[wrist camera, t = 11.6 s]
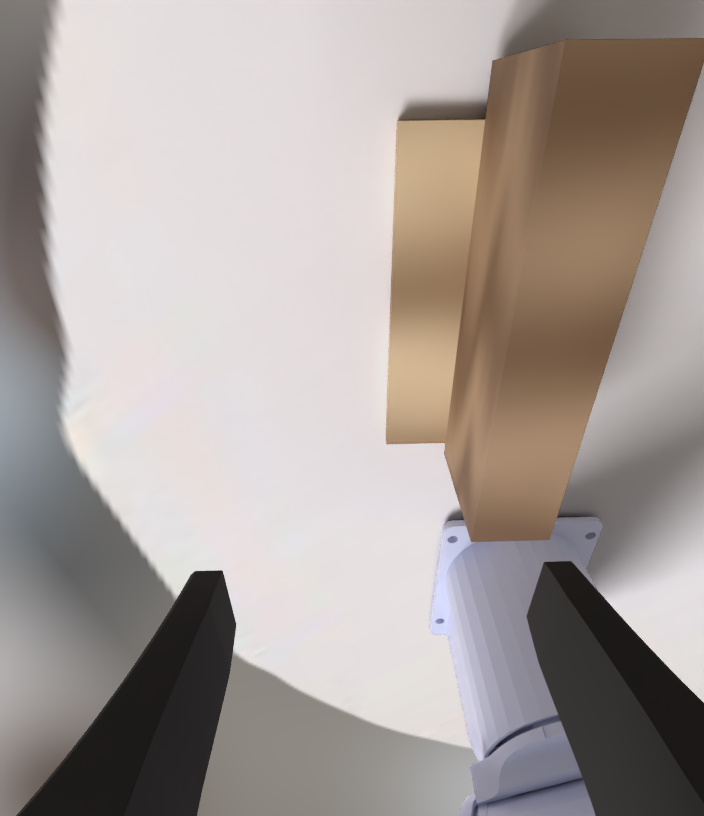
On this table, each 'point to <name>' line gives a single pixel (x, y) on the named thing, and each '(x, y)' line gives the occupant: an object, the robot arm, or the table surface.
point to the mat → (429, 271)
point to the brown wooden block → (555, 262)
